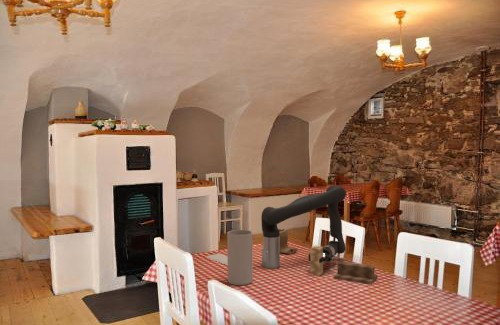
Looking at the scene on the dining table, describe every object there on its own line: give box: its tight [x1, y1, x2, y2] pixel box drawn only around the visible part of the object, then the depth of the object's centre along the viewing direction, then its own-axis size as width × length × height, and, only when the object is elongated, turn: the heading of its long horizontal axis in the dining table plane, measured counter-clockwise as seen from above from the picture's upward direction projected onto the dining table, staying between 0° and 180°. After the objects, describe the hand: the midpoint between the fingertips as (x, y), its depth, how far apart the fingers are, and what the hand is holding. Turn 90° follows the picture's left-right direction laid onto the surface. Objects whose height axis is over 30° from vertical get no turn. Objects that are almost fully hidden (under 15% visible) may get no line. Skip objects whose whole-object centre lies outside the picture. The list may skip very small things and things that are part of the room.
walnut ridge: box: [333, 261, 378, 285], centre depth 229 cm, size 19×12×7 cm, turn 60°
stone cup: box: [278, 228, 299, 255], centre depth 282 cm, size 15×12×15 cm
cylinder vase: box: [226, 229, 254, 286], centre depth 224 cm, size 12×12×25 cm
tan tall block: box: [309, 245, 324, 276], centre depth 237 cm, size 5×5×14 cm
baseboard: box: [203, 251, 228, 266], centre depth 262 cm, size 31×3×12 cm
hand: (314, 260), depth 235 cm, fingers closed on tan tall block, 5 cm apart
